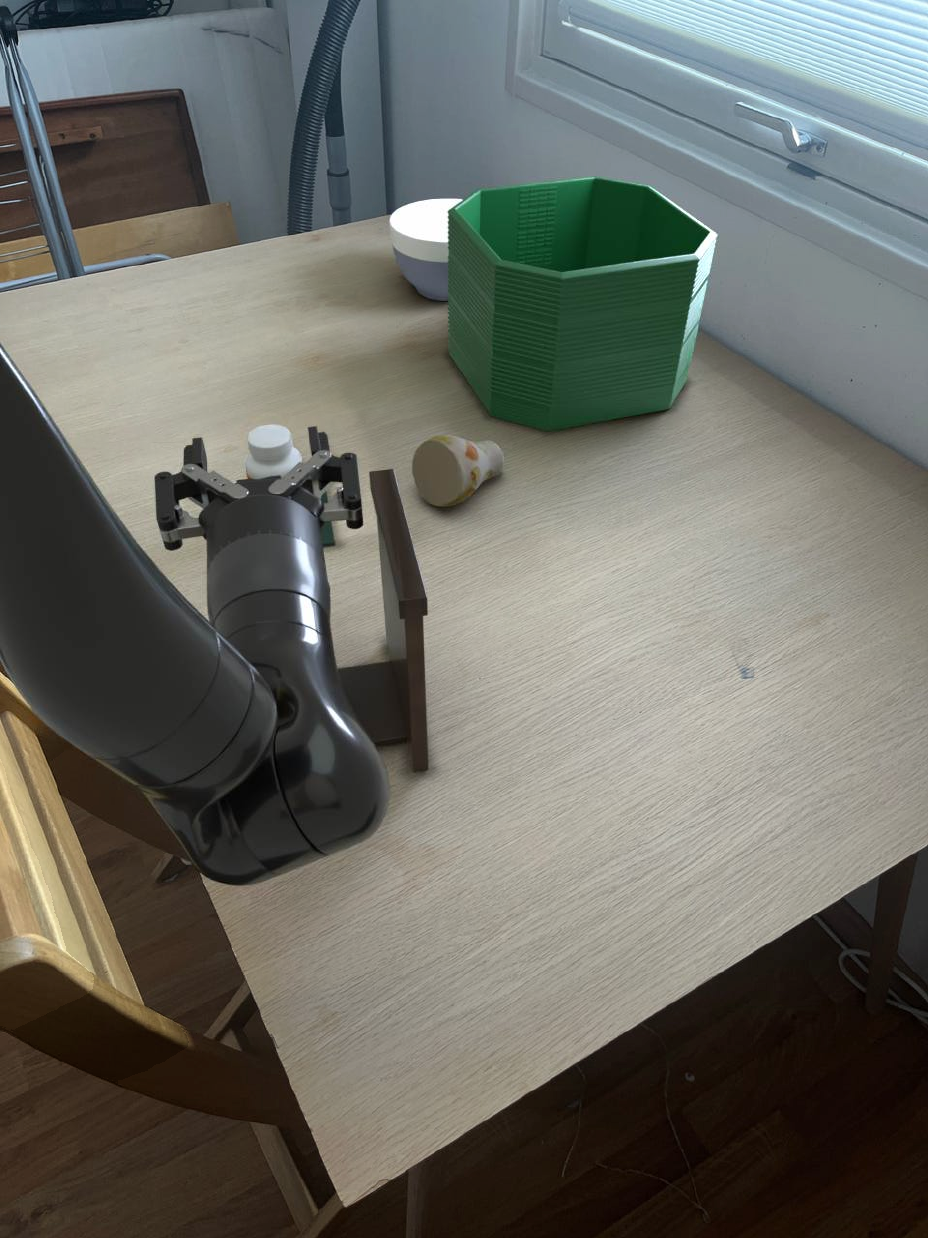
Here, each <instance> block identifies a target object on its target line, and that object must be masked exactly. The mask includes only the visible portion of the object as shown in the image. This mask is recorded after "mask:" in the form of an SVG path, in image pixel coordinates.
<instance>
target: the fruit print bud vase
mask: <svg viewBox="0 0 928 1238" xmlns="http://www.w3.org/2000/svg"><path fill="white" fill-rule="evenodd" d="M413 453H414V454H413V456H412V460H411V474H412V478H413V481H414V485H415V488H416V490H417V491H418V492H419V494H421V495H422V497H423V499H424V500H425V501H426V502H427V503H428V504H430V505H432V506H435V507H449V506H450V507H453V506H456V505H459V504H461V503H462V502H464V501H466V500H468V498H469V497H471V496H472V495H473V494H474V493H475V492H476V491H477V490H478V488H479V487H480V486H481V485H482V484H483V483H484V481H486V480H488V479H492V478H495V477H497V476H499V475H500V473H501V472H502V471H503V469H504V464H505V458H504V453H503V450H502V449H501V448H500V447H499V445H498V444H496V443H495V442H494V441H492V440H487V439H485V440H480V441H474V442H473V441H470V440H468V439H465V438H462V437H459V436H455V435H450V434H441V435H439V434H438V435H436V436H432V437H430V438H427V439H426V440H424V441H423V442H421V443H420V445H418V447H417V448H416V449H415V451H414V452H413Z"/></svg>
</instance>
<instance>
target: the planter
mask: <svg viewBox="0 0 928 1238" xmlns="http://www.w3.org/2000/svg"><path fill="white" fill-rule="evenodd" d="M448 214H449V216H448V219H449V221H448V224H449V226H448V229H449V231H448V234H449V236H448V239H449V241H448V244H449V246H448V249H449V256H448V259H449V261H448V264H449V266H448V269H449V270H448V273H449V275H448V278H449V280H448V283H449V285H448V288H449V289H448V292H449V298H448V301H447V302H448V303H447V306H448V307H447V311H448V312H447V315H448V316H447V319H448V320H447V323H448V325H447V328H448V329H447V331H448V355H449V356H450V357H451V359H452V360H453V362H454V364H455V365H456V366H457V368H458V369H459V371H460V373H461V374H462V375H463V377H464V378H465V380H466V382H468V384H469V386H470V387H471V388H472V390H473V391H474V393H475V395H476V396H477V397H478V399H479V400H480V402H481V403H482V405H483V406H484V408H485V410H486V411H487V412H488V414H489V415H490V416H491V418H492V417H493V418H496V419H500V420H503V421H507V422H510V423H515V424H518V425H521V426H522V425H523V426H525V427H530V428H534V429H537V430H541V431H544V432H553V431H557V430H564V429H570V428H574V427H580V426H586V425H591V424H596V423H597V424H598V423H603V422H607V421H613V420H617V419H624V418H628V417H634V416H639V415H644V414H645V415H646V414H650V413H656V412H661V411H666V410H669V409H670V408H671V407H672V405H673V404H674V402H675V400H676V399H677V397H678V395H679V394H680V392H681V390H682V389H683V387H684V386H685V384H686V382H687V380H688V376H689V371H690V368H691V361H692V359H693V354H694V350H695V345H696V341H697V336H698V332H699V326H700V324H699V322H700V319H701V317H702V315H701V314H702V313H703V312H702V311H703V310H702V309H703V307H704V306H703V305H704V302H705V297H706V293H707V287H708V286H707V285H708V284H709V281H708V279H709V275H710V274H711V269H712V263H713V258H714V253H715V248H716V245H715V244H716V243H717V238H718V235H719V234H717V233H716V232H715V231H713V230H712V229H710V228H709V227H708V226H706V225H704V223H702V222H701V221H700V220H697V219H696V218H695V217H694V216H692V215H691V214H690V213H688V212H687V211H685V210H684V209H683V208H682V207H679V206H678V205H677V204H676V203H674V202H673V201H672V200H670V199H668V198H667V197H666V196H664V195H663V194H661V192H659V191H658V190H656V189H655V188H653V187H652V186H650V185H648V184H641V183H635V182H629V181H623V180H618V179H611V178H605V177H599V176H587V177H580V178H571V179H562V180H552V181H544V182H543V181H542V182H534V183H527V184H525V183H524V184H518V185H506V186H499V187H498V186H497V187H489V188H480V189H476V190H474V191H473V192H471V193H470V194H469V195H468V196H466V197H465V198H463V200H462V201H461V202H459V203H458V204H456V205H455V206H454V207H452V208H451V209H450V210H448Z"/></svg>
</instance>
